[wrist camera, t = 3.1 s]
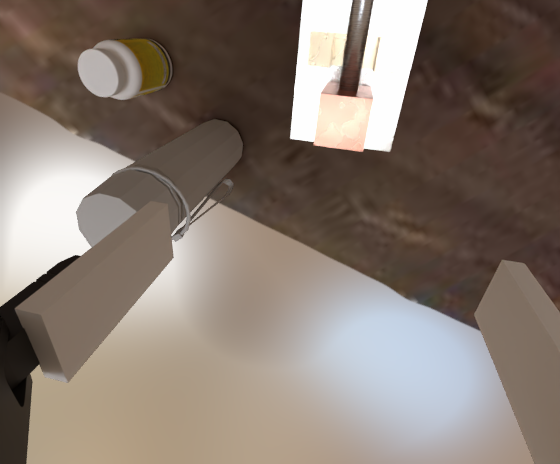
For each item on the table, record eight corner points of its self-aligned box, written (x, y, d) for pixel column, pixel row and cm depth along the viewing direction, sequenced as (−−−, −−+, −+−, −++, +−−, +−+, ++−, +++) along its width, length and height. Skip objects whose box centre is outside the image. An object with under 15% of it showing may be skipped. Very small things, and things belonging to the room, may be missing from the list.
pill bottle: (148, 26, 43) (89, 24, 33) (183, 68, 44) (136, 78, 35) (121, 61, 45) (60, 68, 36) (155, 99, 47) (105, 116, 38)
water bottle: (185, 136, 49) (53, 215, 28) (225, 105, 46) (108, 167, 24) (224, 187, 52) (131, 293, 31) (264, 161, 48) (191, 260, 27)
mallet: (359, -149, 30) (359, -211, 22) (417, -148, 29) (437, -212, 22) (322, 125, 42) (313, 145, 35) (362, 130, 42) (362, 151, 34)
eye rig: (316, -135, 32) (297, -207, 23) (458, -132, 31) (504, -209, 21) (291, 136, 46) (273, 164, 36) (389, 149, 44) (397, 182, 34)
